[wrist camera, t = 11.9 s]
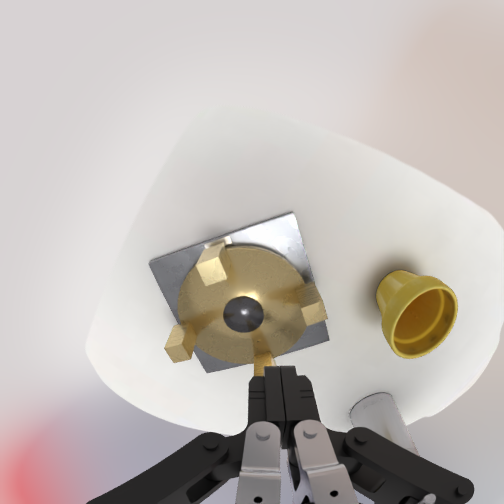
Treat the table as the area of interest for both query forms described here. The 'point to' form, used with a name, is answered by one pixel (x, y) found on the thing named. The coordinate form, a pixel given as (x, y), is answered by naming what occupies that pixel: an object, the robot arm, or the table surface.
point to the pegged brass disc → (243, 307)
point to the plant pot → (415, 312)
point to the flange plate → (260, 235)
